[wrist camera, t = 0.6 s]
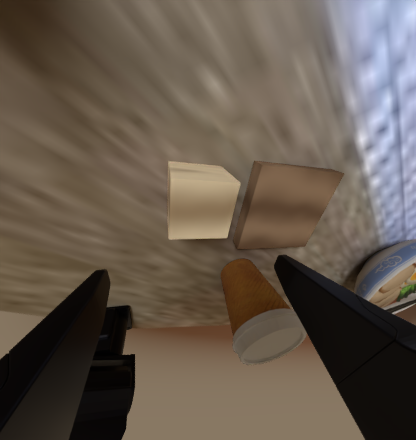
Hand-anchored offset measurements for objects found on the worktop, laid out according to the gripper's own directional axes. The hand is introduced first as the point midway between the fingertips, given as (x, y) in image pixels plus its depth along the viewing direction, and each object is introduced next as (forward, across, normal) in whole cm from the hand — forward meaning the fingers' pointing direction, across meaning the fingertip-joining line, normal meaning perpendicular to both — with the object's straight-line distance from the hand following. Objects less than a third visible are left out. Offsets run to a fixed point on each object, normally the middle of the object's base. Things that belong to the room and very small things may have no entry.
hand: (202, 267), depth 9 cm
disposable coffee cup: (+13, -11, +16) cm, 23 cm away
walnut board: (+13, -14, +3) cm, 20 cm away
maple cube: (+13, -2, +1) cm, 13 cm away
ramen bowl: (+13, -46, +17) cm, 51 cm away
